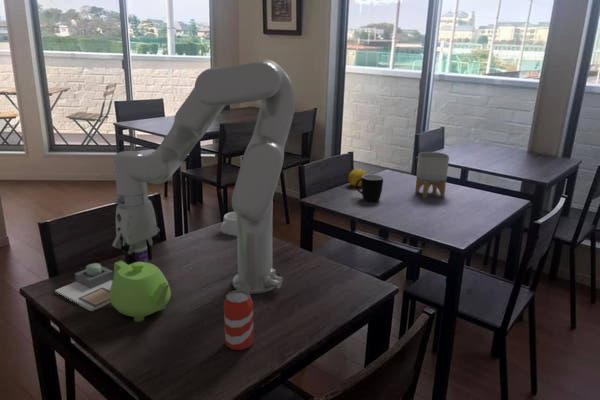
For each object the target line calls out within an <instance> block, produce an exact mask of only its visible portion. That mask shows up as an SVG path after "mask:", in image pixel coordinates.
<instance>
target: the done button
mask: <svg viewBox="0 0 600 400" xmlns="http://www.w3.org/2000/svg"><path fill="white" fill-rule="evenodd" d="M101 266H102V265H101V263H97V262H93V263H89V264H87V265H86V266H85V269H86V273H87V276H90V277H94V276H96V275H99V274H101V273H102V271H101Z"/></svg>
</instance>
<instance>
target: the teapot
mask: <svg viewBox="0 0 600 400" xmlns="http://www.w3.org/2000/svg"><path fill="white" fill-rule="evenodd" d="M113 265H114V267H113V274H114V279H112V281H113V282H112V285H111V290H110V301H111V303H110V304H111V305H112V306H113V308H114V309H115V310H116V311H118V313H119V314H122V315H125V316H128V317H131V318H133V321H134V322H136V323H137V322H139V323H140V322H143V321H144V320H146V319H145V318H146V317H147V316H150V315H152V314H154V313H156V312H160V311H164V310H165V309H166V306H167V304H168V303H169V301H170V300H171V296H172V293H171V292H172V291H171V287H170V283H169V282H168V280H167V279H166V277H165V275H164V274H163V272H162V271H161V269H160V268H159V267H158V266H156V265H155V264H152V263H150V262H148V263H146V262H135V263H133V264H130V265H127V264H126V261H123V260H122V259H121V260H119V261H116V262H114V264H113Z"/></svg>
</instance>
